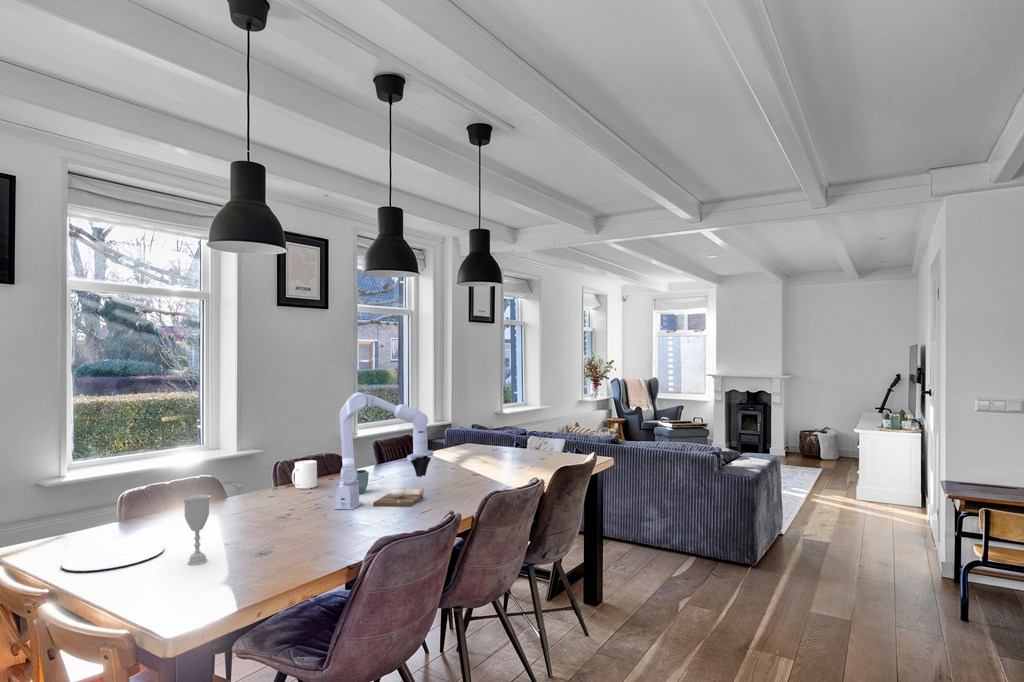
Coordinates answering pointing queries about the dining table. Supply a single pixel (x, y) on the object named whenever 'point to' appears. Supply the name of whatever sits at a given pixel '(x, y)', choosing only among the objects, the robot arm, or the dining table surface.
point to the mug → (305, 474)
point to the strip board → (398, 500)
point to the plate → (155, 551)
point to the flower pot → (362, 480)
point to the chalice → (197, 522)
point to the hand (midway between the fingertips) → (421, 476)
